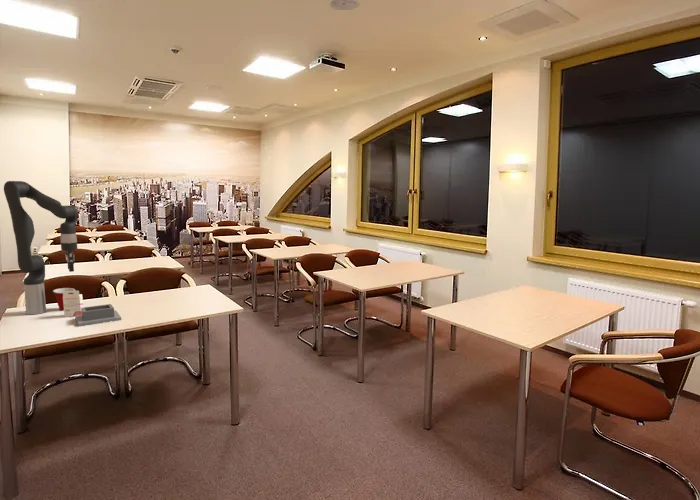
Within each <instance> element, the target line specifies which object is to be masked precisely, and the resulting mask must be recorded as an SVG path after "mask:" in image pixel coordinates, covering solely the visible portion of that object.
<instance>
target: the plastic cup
mask: <svg viewBox="0 0 700 500" xmlns="http://www.w3.org/2000/svg"><path fill="white" fill-rule="evenodd" d="M63 291H76V289H75V288H71V287H62V288H56V289H53V290H52V292H53V294H54V296H55V298H56V299H55V300H56V303H57V306H58V310H60V311H64V306H63ZM68 294H74V293H68Z"/></svg>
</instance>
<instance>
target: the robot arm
mask: <svg viewBox="0 0 700 500" xmlns="http://www.w3.org/2000/svg"><path fill="white" fill-rule="evenodd" d="M3 192H4V196H5V199H6V203H7V206H8V209H9V213H10V217H11V223H12V228H13V233H14V237H15V243H16V250H17V251H16V253H17V265H18V269H19V270H20V271H21V272H22V273H24V274H28V275H27V276H26V277H25V278H24V279H23V289H24V291H23V292H24V303H25V313H26V315H27V316H28V315H38V314H44V313H46V312H47V304H46V303H47V302H46V293H45V279H46V263H45V259H44V258H43V257H42V256H41V255H39V254H33V255H32V250H31V249H32V248H31V247H32V243H33V240H34V236H35V230H36V229H35V226H34V221H33V219H32V217H31V216H30V215H29V214H28V212H27V211H26V210H25V209H24V208H23V205H22V202H21V199H23V198H26V199H30V200H32V201H35V203H36V204H37V205H38V206H39V207H40V208H42V209H44V210H47V211H48V212H50V213H51V214H53V215H54V217H57V218H59V219H63V220H64V219H65V220H64V222H62V223H60V225H59V228H60V250H61V251H62V252H63V251H64V252H65V253H64V255H65V260H66V263H67V269H68V272H70V273H71V272H75V269H74V265H75V253H74V252H73V251H77V250H78V239H77V233H76V232H77V231H76V230H77V229H76V225H77V220H78V216H79V213H78V209H77V208H76V206H74V205H62V202H60V201H59V200H57V199H55V198H53V197H52V196H51V197H50V196H48V194H47V195H46V194H44V193H43V192H42V191H40V190H38V189H36V188H35V187H34V186H33V185H30V184H29V183H28V182H25V181H23V180H22V181H21V180H8V181H6V182H5V183H4V184H3Z"/></svg>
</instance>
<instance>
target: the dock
mask: <svg viewBox="0 0 700 500" xmlns="http://www.w3.org/2000/svg"><path fill="white" fill-rule="evenodd" d="M81 312H82V315H78V316H74V317H75V321H76V323H77V326H78V327H84V326H90V325H97V324H103V322H105V323H110V321H112V322H118V321H122V316H121V315H120V314H119V312H118V311H117V310H116V309H115V307H114V306H113V305H112V304H111V303H108V304H99V305H92V306H83V308H81Z"/></svg>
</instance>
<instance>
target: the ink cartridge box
mask: <svg viewBox="0 0 700 500" xmlns="http://www.w3.org/2000/svg"><path fill="white" fill-rule="evenodd" d="M68 293H74V294H68ZM83 299H84V298H83V294H82V293H80V291H79V290H75V291H63V306H64V310H63V316H64V317H67V318H68V317H75V316H78V315H82V312H81V308H83V307H84V300H83Z"/></svg>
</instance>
